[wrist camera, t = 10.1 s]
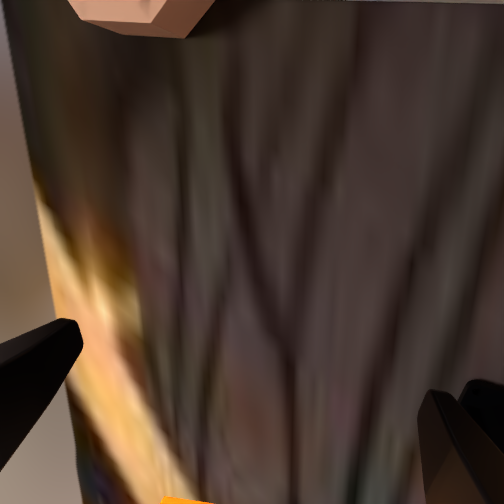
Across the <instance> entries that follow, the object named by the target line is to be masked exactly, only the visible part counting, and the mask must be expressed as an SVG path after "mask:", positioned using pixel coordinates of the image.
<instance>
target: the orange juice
mask: <svg viewBox="0 0 504 504" xmlns="http://www.w3.org/2000/svg"><path fill="white" fill-rule="evenodd" d="M160 504H212V503H205V502H199V501H192V500H186V499H180V498H173V497H167V496H164V498H163V499H162V501H161V503H160Z"/></svg>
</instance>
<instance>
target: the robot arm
mask: <svg viewBox="0 0 504 504" xmlns="http://www.w3.org/2000/svg"><path fill="white" fill-rule="evenodd" d="M82 349H83V339H82V335H81V332H80V329H79V326H78V323H77V322H76V321H75V320H71V319H66V318H59V319H57V320H55V321H52V322H50V323H48V324H45V325H43V326H41V327H38V328H36V329H34V330H31V331H29V332H27V333H24V334H22V335H20V336H18V337H16V338H13V339H11V340H8V341H6V342H3V343H1V344H0V472H1V470H2V469H3V468H4V466H5V464H6V463H7V462H8V461H9V459H10V458H11V457H12V455H13V454H14V452H15V451H16V449H17V448H18V447H19V445H20V444H21V443H22V441H23V440H24V439H25V437H26V436H27V434H28V433H29V432H30V430H31V429H32V428H33V426H34V425H35V423H36V422H37V421H38V419H39V418H40V417H41V415H42V414H43V412H44V411H45V410H46V408H47V406H48V405H49V404H50V402H51V401H52V399H53V398H54V396H55V394H56V393H57V391H58V390H59V388H60V386H61V384H62V383H63V381H64V380H65V378H66V376H67V374H68V373H69V371H70V369H71V368H72V366H73V364H74V363H75V361H76V359H77V358H78V356H79V354H80V353H81V351H82ZM476 388H478V389H480V390H479V391H474V389H476ZM417 423H418V433H419V443H420V453H421V463H422V472H423V482H424V491H425V498H426V503H427V504H504V388H501V387H498V386H495V385H491V384H488V383H485V382H482V381H479V380H471V381H469V382H468V383H467V384H466V385H465V387H464V389H463V391H462V393H461V395H460V397H459V399H458V401H457V400H456V399H455V398H454V397H453V396H452V395H451V394H450V393H448V392H444V391H439V390H434V389H430V390H428V391H427V393H426V395H425V397H424V399H423V402H422V404H421V406H420V409H419V411H418V417H417Z"/></svg>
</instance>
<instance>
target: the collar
mask: <svg viewBox="0 0 504 504" xmlns="http://www.w3.org/2000/svg"><path fill="white" fill-rule="evenodd" d="M68 1H69V3H70V4H71V5H72V7H73V8H74V10H75V11H76V13H77V14H78V16H79V17H80V18H81V20H84V21H87V22H89V23H92V24H95V25H98V26H100V27H103V28H106V29H109V30H112V31H114V32H117V33H120V34H123V35H138V36H153V37H169V38H184V39H185V37H186V36H187V35H188V34H189V32H190V31H191V30H192V29H193V27H194V26H195V25H196V24H197V23H198V21H199V20H200V19H201V18H202V16H203V15H204V14H205V13H206V11H207V10H208V9H209V8H210V6H211V5H212V4H213V3H214V1H215V0H68Z"/></svg>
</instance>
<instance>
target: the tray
mask: <svg viewBox="0 0 504 504" xmlns="http://www.w3.org/2000/svg"><path fill="white" fill-rule="evenodd" d="M348 1H395V2H441V3H488V4H504V0H348Z"/></svg>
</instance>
